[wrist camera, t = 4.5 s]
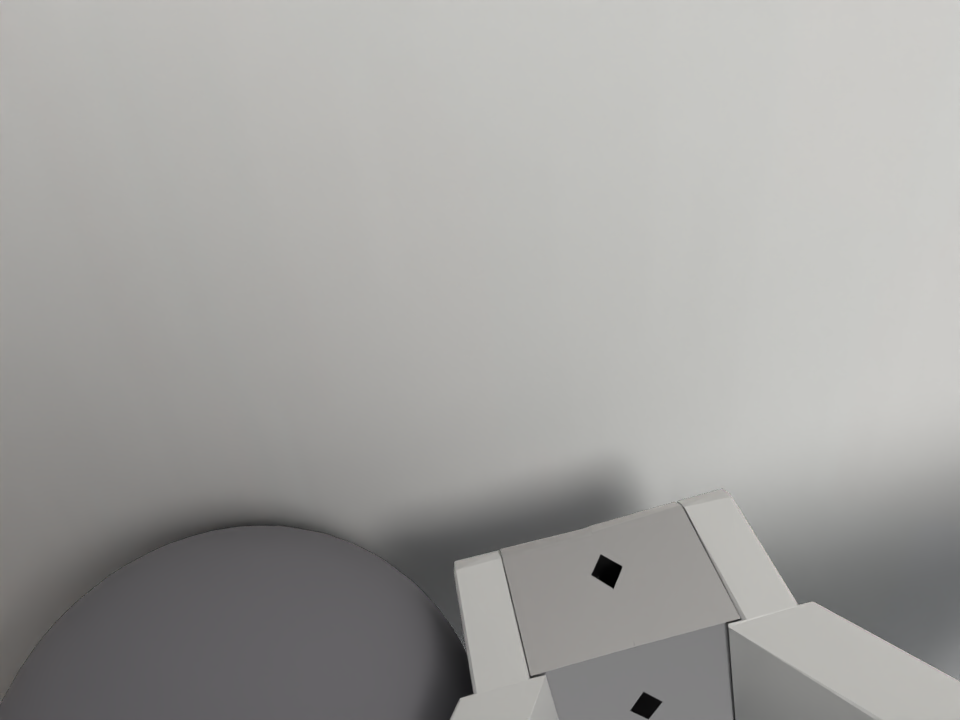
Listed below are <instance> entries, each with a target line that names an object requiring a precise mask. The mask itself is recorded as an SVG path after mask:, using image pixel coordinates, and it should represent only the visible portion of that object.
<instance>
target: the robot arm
mask: <svg viewBox="0 0 960 720" xmlns="http://www.w3.org/2000/svg"><path fill="white" fill-rule="evenodd" d="M501 554H502V555H501ZM454 578H455V584H456V590H457V596H458V602H459V608H460V614H461V620H462V626H463V632H464V638H465V644H466V650H467V656H468V663H469V669H470V675H471V681H472V687H473V693H474V694H472V695H469V696H465V697H462V698H460V699H459V701H458V703H457V705H456V707H455V710H454V712H453V714H452V716H451V718H450V720H960V681H959V680H957V679H955V678H953V677H951V676H949V675H948V674H946V673H944V672H942V671H940V670H938V669H937V668H935V667H933V666H931V665H929V664H927V663H926V662H924V661H922V660H920V659H918V658H916V657H915V656H913V655H911V654H909V653H907V652H905V651H904V650H902V649H900V648H898V647H896V646H894V645H892V644H891V643H889V642H887V641H885V640H883V639H881V638H880V637H878V636H876V635H874V634H872V633H870V632H869V631H867V630H865V629H863V628H861V627H859V626H858V625H856V624H854V623H852V622H850V621H848V620H847V619H845V618H843V617H841V616H839V615H837V614H835V613H834V612H832V611H830V610H828V609H826V608H824V607H823V606H821V605H819V604H817V603H815V602H813V601H812V602H808V603H804V604H799V605H798V603H797V602H796V600H795V598H794V597H793V595H792V593H791V592H790V590H789V589H788V587H787V585H786V584H785V582H784V580H783V579H782V577H781V576H780V574H779V572H778V571H777V569H776V567H775V566H774V564H773V562H772V561H771V559H770V558H769V556H768V554H767V553H766V551H765V549H764V548H763V546H762V545H761V543H760V541H759V540H758V538H757V536H756V535H755V533H754V531H753V530H752V528H751V527H750V525H749V523H748V522H747V520H746V518H745V517H744V515H743V514H742V512H741V510H740V509H739V507H738V505H737V504H736V502H735V500H734V499H733V497H732V496H731V494H730V493H729V492H727V491H726V490H724V489H723V488H722V489H718V490H715V491H711V492H707V493H704V494H700V495H697V496H693V497H690V498H686V499H683V500H679V501H678V502H677V503H676V502H671V503H668V504H664V505H661V506H657V507H654V508H650V509H647V510H643V511H640V512H636V513H633V514H629V515H626V516H622V517H619V518H615V519H612V520H608V521H605V522H601V523H598V524H594V525H591V526H588V527H587V528H583V529H579V530H575V531H571V532H567V533H563V534H559V535H555V536H551V537H547V538H543V539H538V540H534V541H530V542H526V543H522V544H518V545H514V546H510V547H506V548H502V549H501V552H500V550H498V551H493V552H489V553H485V554H481V555H477V556H473V557H469V558H465V559H461V560H457V561H454Z"/></svg>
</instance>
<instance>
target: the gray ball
mask: <svg viewBox="0 0 960 720" xmlns="http://www.w3.org/2000/svg"><path fill="white" fill-rule="evenodd" d="M472 694H474V693H473V687H472V681H471V675H470V669H469V663H468V656H467V654H466V652H465V650H464V648H463V645H462V643H461V642H460V640H459V638H458V636H457V635H456V633H455V631H454V630H453V628H452V627H451V626H450V624H449V623H448V621H447V620H446V618H445V617H444V615H443V614H442V613H441V611H440V610H439V609H438V608H437V606H436V605H435V604H434V603H433V602H432V601H431V600H430V599H429V598H428V596H427V595H426V594H425V593H424V592H423V591H422V590H421V589H420V588H419V587H418V586H417V585H416V584H415V583H414V582H413V581H411V580H410V579H409V578H408V577H406V576H405V575H404V574H402V573H401V572H400V571H398V570H397V569H396V568H394V567H393V566H392V565H390V564H389V563H388V562H387V561H385V560H384V559H382V558H380V557H378V556H377V555H375V554H373V553H371V552H369V551H367V550H366V549H364V548H362V547H360V546H357V545H355V544H353V543H350V542H348V541H345V540H342V539H340V538H337V537H334V536H331V535H328V534H325V533H321V532H315V531H309V530H304V529H298V528H292V527H286V526H241V527H233V528H226V529H220V530H214V531H210V532H206V533H202V534H198V535H194V536H191V537H188V538H185V539H182V540H178V541H175V542H172V543H170V544H168V545H165V546H163V547H161V548H158V549H156V550H154V551H151V552H149V553H147V554H146V555H144V556H142V557H140V558H138V559H136V560H134V561H133V562H131V563H129V564H127V565H126V566H124V567H122V568H121V569H119V570H118V571H116V572H114V573H113V574H111V575H109V576H108V577H107V578H106V579H104V580H103V581H102V582H101V583H99V584H98V585H97V586H95V587H94V588H93V589H92V590H90V591H89V592H88V593H87V594H86V595H84V596H83V597H82V598H81V599H80V600H78V601H77V602H76V603H75V604H74V605H73V606H72V607H71V608H70V609H69V610H68V611H67V612H66V613H65V614H64V615H63V616H62V617H61V618H60V619H58V620H57V621H56V622H55V624H54V625H53V626H52V627H51V628H50V630H49V631H48V632H47V633H46V634H45V636H44V637H43V638H42V639H41V640H40V642H39V643H38V644H37V645H36V647H35V648H34V650H33V651H32V652H31V654H30V655H29V657H28V658H27V660H26V661H25V663H24V664H23V666H22V667H21V668H20V670H19V672H18V673H17V675H16V677H15V679H14V680H13V682H12V684H11V686H10V688H9V689H8V691H7V693H6V695H5V696H4V698H3V700H2V702H1V705H0V720H450V718H451V716H452V714H453V712H454V710H455V707H456V705H457V703H458V701H459V699H460V698H462V697H465V696H469V695H472Z"/></svg>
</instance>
